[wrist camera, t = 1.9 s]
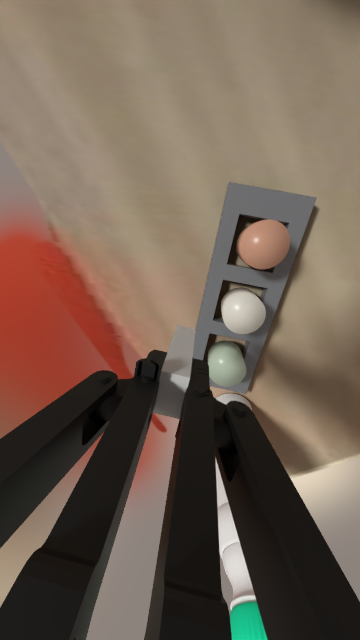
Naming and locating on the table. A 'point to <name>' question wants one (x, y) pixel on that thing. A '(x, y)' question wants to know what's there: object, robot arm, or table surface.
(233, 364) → the button sage
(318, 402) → the table surface
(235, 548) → the water bottle
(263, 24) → the table surface
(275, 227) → the button terracotta
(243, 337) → the panel
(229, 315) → the button ivory
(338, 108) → the table surface
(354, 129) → the table surface
